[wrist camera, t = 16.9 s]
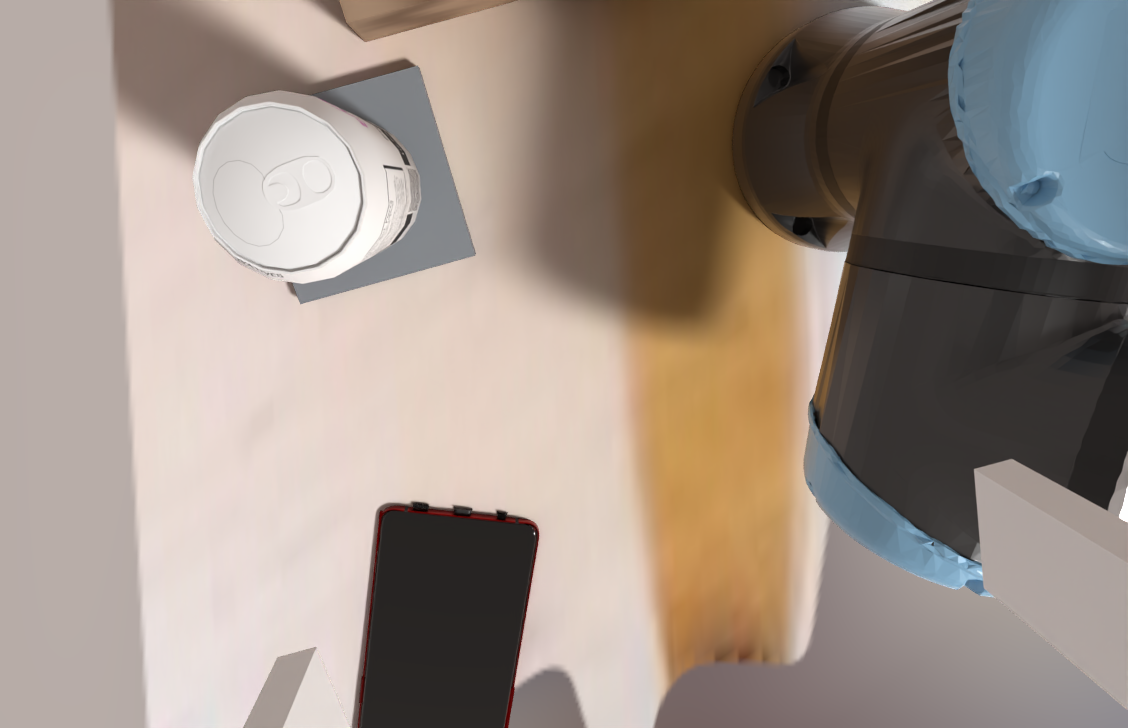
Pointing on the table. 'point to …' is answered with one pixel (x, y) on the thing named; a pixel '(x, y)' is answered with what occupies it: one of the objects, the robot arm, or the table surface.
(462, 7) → the rack
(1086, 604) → the robot arm
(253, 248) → the supplement can
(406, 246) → the pad
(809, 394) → the table surface
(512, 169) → the table surface
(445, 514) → the smartphone
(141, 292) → the table surface
